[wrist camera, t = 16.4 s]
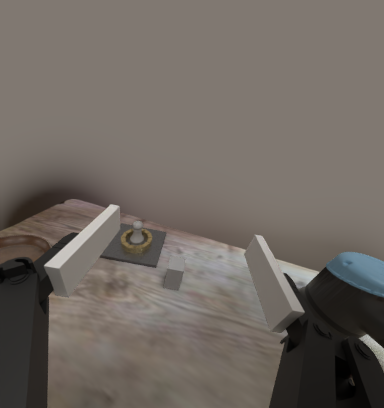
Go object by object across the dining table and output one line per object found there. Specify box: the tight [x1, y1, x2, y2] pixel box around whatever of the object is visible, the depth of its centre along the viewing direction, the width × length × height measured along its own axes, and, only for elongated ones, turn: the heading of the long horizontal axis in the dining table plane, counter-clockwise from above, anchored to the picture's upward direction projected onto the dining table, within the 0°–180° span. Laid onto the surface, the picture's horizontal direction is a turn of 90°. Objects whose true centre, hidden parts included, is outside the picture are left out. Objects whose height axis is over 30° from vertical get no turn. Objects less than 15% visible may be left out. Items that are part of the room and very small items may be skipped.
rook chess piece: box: [130, 221, 144, 246], centre depth 47 cm, size 4×4×8 cm
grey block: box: [164, 256, 185, 290], centre depth 39 cm, size 4×4×8 cm
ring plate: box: [100, 224, 166, 268], centre depth 49 cm, size 17×15×3 cm
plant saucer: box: [0, 235, 51, 264], centre depth 34 cm, size 18×18×3 cm
